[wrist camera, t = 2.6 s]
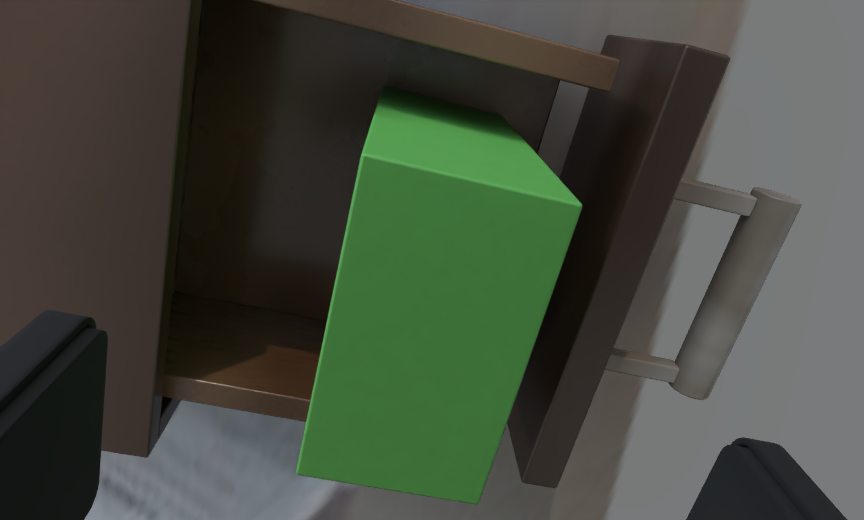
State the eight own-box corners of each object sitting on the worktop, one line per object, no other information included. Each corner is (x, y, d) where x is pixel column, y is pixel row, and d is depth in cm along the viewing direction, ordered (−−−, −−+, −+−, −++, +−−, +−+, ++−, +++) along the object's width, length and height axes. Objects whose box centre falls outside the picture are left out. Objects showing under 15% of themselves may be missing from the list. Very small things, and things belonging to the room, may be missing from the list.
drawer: (772, 79, 21) (912, 105, 15) (633, 400, 26) (699, 514, 20) (196, -77, 19) (101, -117, 13) (160, 309, 23) (79, 407, 18)
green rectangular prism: (502, 114, 20) (584, 204, 11) (449, 303, 23) (479, 506, 13) (382, 85, 20) (361, 152, 10) (341, 280, 22) (295, 475, 13)
